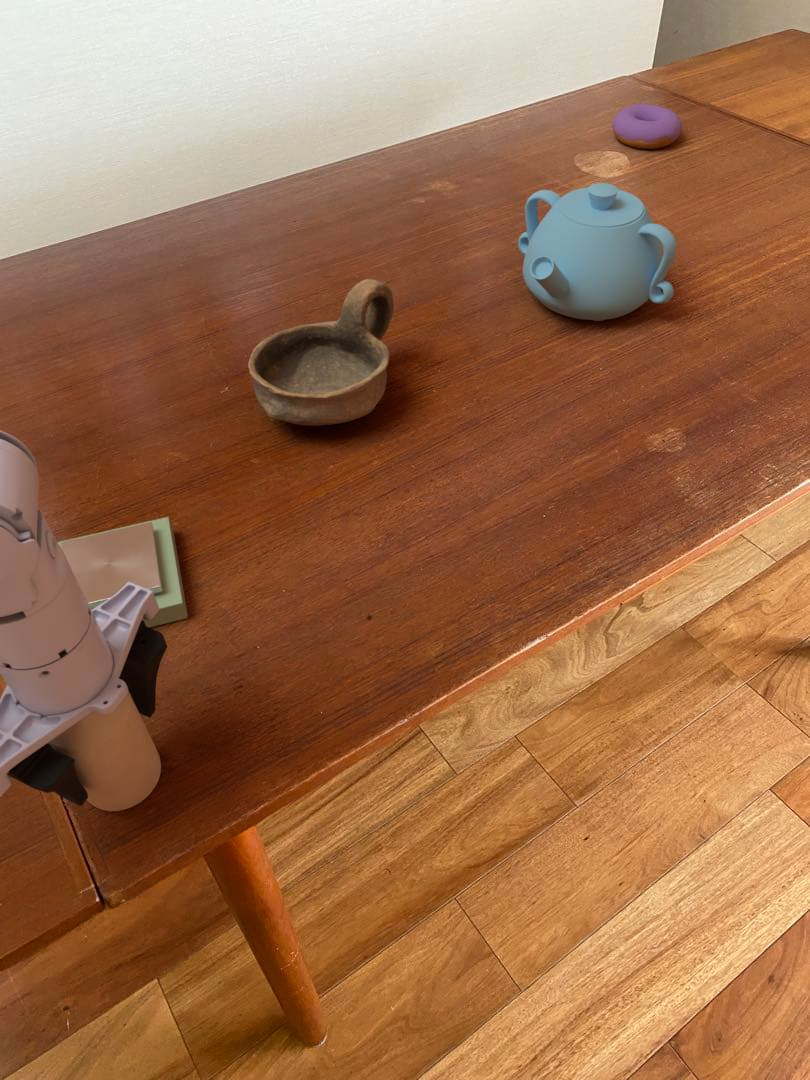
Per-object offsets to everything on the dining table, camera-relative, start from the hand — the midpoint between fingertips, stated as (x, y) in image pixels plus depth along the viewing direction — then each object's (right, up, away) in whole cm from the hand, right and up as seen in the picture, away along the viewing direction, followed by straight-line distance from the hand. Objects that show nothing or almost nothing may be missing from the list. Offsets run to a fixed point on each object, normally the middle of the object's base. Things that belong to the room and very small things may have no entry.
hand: (108, 750), depth 58 cm
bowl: (+13, +28, +31) cm, 44 cm away
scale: (-4, +10, +14) cm, 18 cm away
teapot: (+39, +41, +41) cm, 70 cm away
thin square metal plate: (-4, +12, +12) cm, 17 cm away
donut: (+55, +73, +70) cm, 115 cm away
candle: (0, -2, +3) cm, 4 cm away
